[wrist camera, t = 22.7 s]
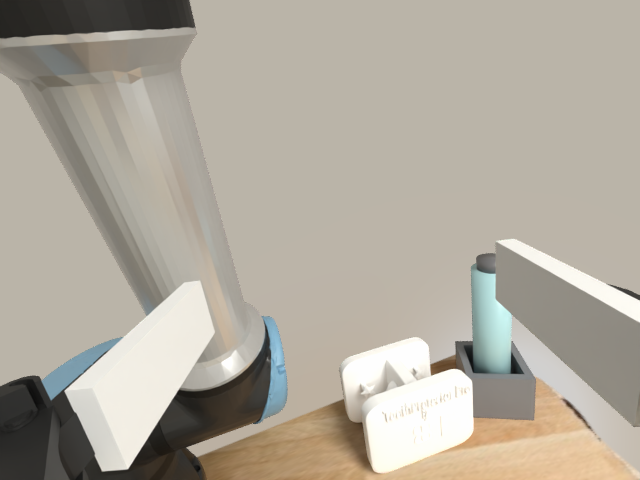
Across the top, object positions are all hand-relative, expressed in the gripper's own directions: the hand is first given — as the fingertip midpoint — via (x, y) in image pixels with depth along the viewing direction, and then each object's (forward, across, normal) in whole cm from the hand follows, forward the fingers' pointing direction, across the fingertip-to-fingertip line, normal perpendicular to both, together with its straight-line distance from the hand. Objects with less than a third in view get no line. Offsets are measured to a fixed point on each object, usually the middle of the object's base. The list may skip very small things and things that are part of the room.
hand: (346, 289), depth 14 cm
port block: (+28, +20, -35) cm, 49 cm away
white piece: (+23, +5, -35) cm, 43 cm away
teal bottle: (+28, +20, -35) cm, 49 cm away
